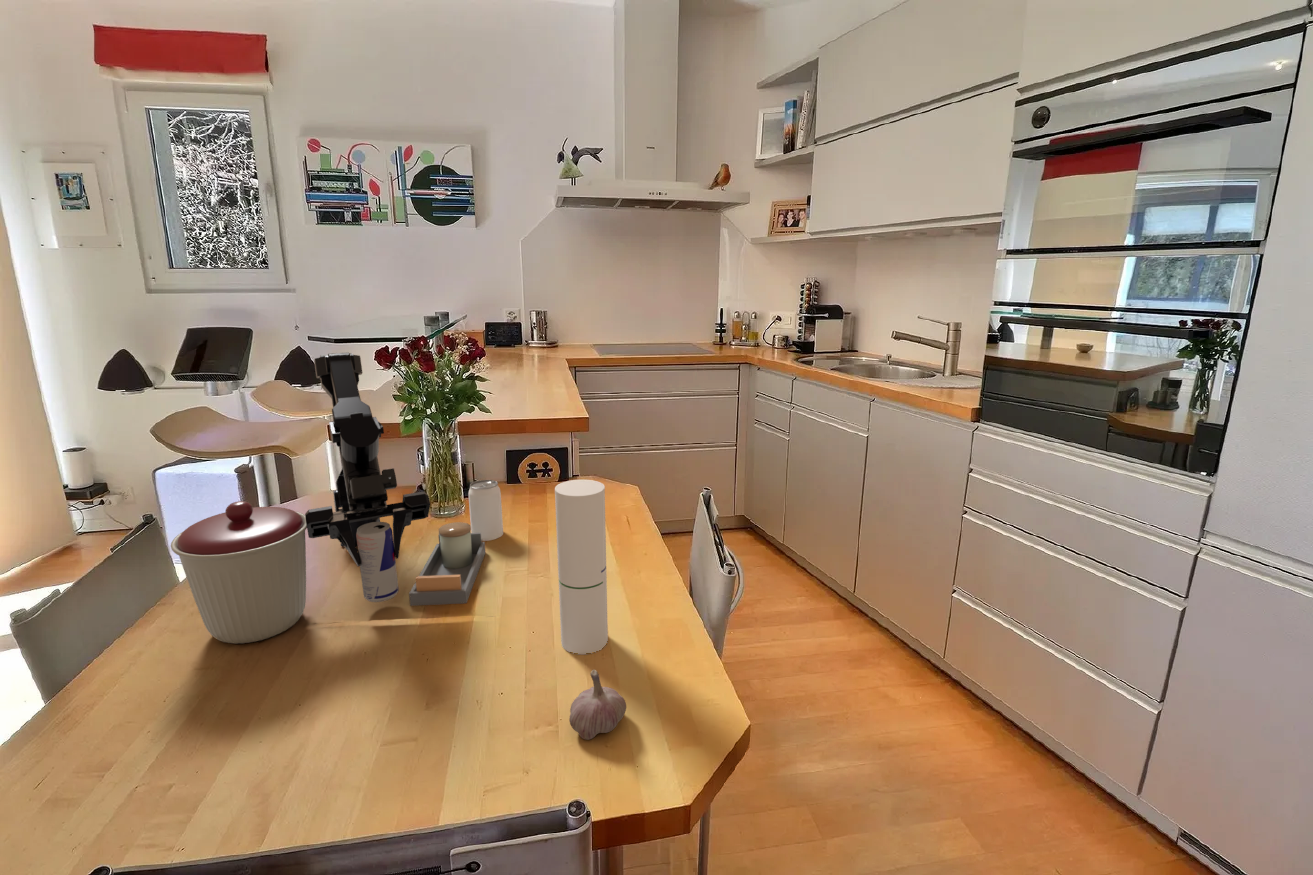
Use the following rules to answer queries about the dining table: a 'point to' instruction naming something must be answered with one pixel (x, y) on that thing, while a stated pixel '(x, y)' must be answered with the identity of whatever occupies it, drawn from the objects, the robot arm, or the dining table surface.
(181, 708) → the dining table surface
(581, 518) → the cylindrical container
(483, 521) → the can
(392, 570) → the energy drink
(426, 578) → the bar
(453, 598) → the grey rectangular tray
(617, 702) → the garlic bulb
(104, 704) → the dining table surface
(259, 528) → the canister
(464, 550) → the sage jar
